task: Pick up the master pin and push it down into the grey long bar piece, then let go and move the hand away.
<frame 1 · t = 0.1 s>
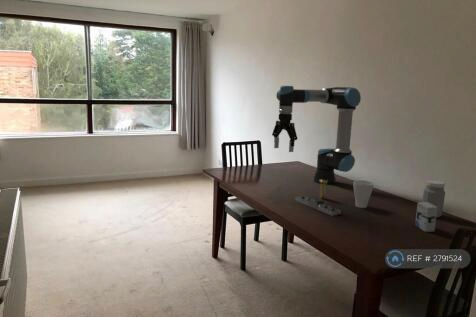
hand: (283, 150, 208), 28 cm above the table, fingers open, 13 cm apart
cup: (361, 206, 198), on the table
jar: (431, 215, 187), on the table
grey long bar piece: (316, 206, 195), on the table
master pin: (322, 198, 211), on the table
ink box: (424, 228, 169), on the table
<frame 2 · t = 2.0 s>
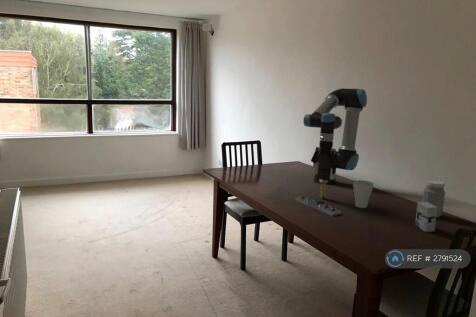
hand: (323, 176, 208), 13 cm above the table, fingers open, 13 cm apart
nothing on the table moved.
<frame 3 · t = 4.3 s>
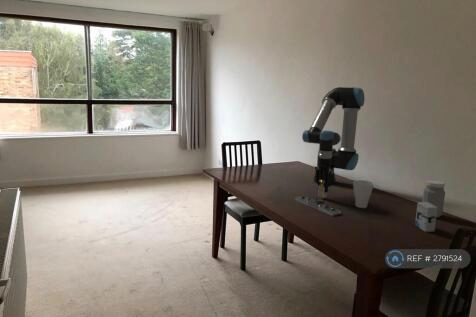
hand: (322, 196, 211), 1 cm above the table, fingers closed on master pin, 3 cm apart
master pin: (322, 198, 211), on the table, touching gripper
everything else where it was.
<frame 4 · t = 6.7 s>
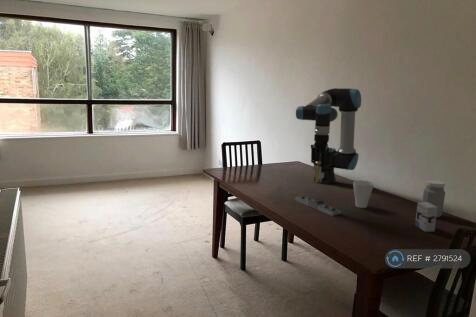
hand: (318, 177, 192), 17 cm above the table, fingers closed on master pin, 3 cm apart
master pin: (318, 181, 192), point 14 cm above the table, touching gripper
everything else where it was.
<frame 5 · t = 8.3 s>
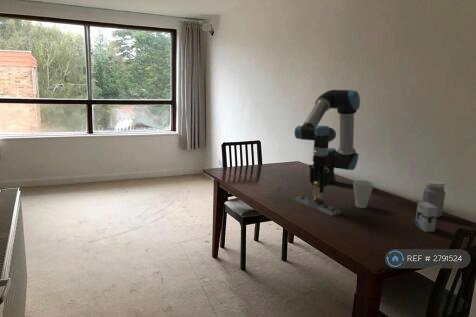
hand: (317, 197, 194), 5 cm above the table, fingers closed on master pin, 3 cm apart
master pin: (316, 201, 195), point 3 cm above the table, touching gripper
everything else where it was.
when the fingers open (3 cm above the table, at t = 9.4 s): master pin stays where it is, resting in grey long bar piece.
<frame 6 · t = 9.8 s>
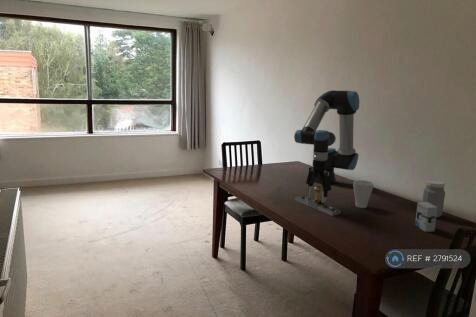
hand: (317, 199, 195), 4 cm above the table, fingers open, 9 cm apart
master pin: (316, 206, 195), resting in grey long bar piece
everything else where it was.
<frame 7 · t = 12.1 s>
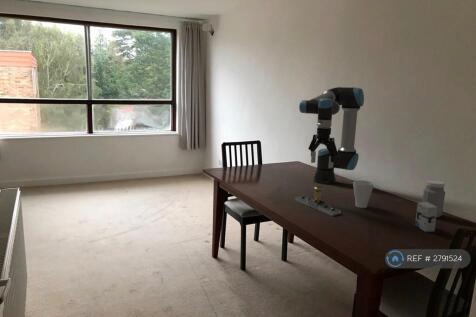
hand: (321, 165, 199), 22 cm above the table, fingers open, 13 cm apart
nothing on the table moved.
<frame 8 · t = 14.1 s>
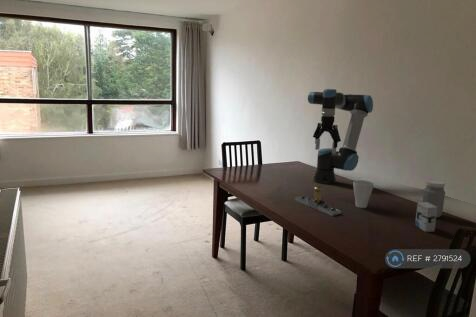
hand: (325, 151, 214), 27 cm above the table, fingers open, 13 cm apart
nothing on the table moved.
at the end: master pin 0.1 cm off-centre on the grey long bar piece, point 0.0 cm above the grey long bar piece's base; master pin tilted 0°; the gripper is holding nothing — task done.
